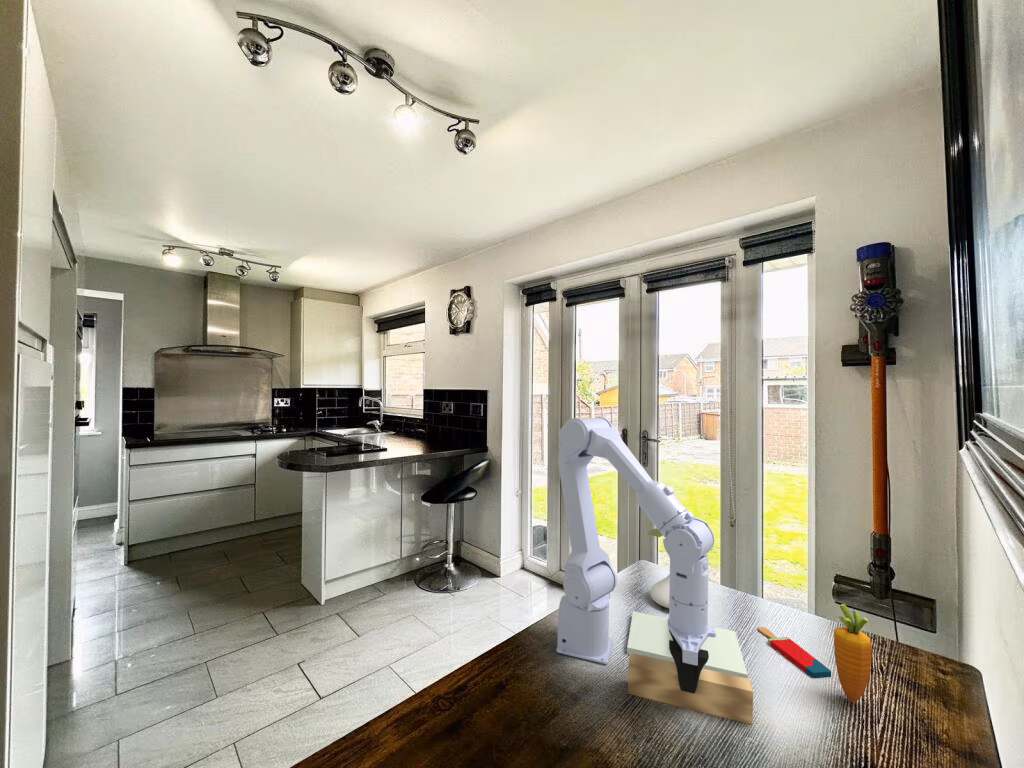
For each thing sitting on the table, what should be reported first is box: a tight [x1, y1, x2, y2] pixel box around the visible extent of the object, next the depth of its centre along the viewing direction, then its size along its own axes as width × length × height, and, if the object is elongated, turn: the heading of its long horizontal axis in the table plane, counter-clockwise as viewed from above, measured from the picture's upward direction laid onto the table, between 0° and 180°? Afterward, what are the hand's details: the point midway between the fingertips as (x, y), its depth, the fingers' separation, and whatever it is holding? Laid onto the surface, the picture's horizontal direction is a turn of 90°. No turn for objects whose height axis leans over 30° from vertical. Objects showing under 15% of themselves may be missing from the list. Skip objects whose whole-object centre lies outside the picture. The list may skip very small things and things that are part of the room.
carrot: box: [833, 603, 873, 703], centre depth 68 cm, size 5×5×15 cm
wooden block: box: [627, 653, 754, 725], centre depth 67 cm, size 18×3×5 cm, turn 71°
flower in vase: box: [646, 527, 670, 609], centre depth 99 cm, size 13×11×25 cm
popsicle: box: [757, 626, 832, 679], centre depth 81 cm, size 5×2×15 cm
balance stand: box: [626, 611, 749, 679], centre depth 82 cm, size 20×14×4 cm
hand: (687, 683), depth 67 cm, fingers open, 3 cm apart
